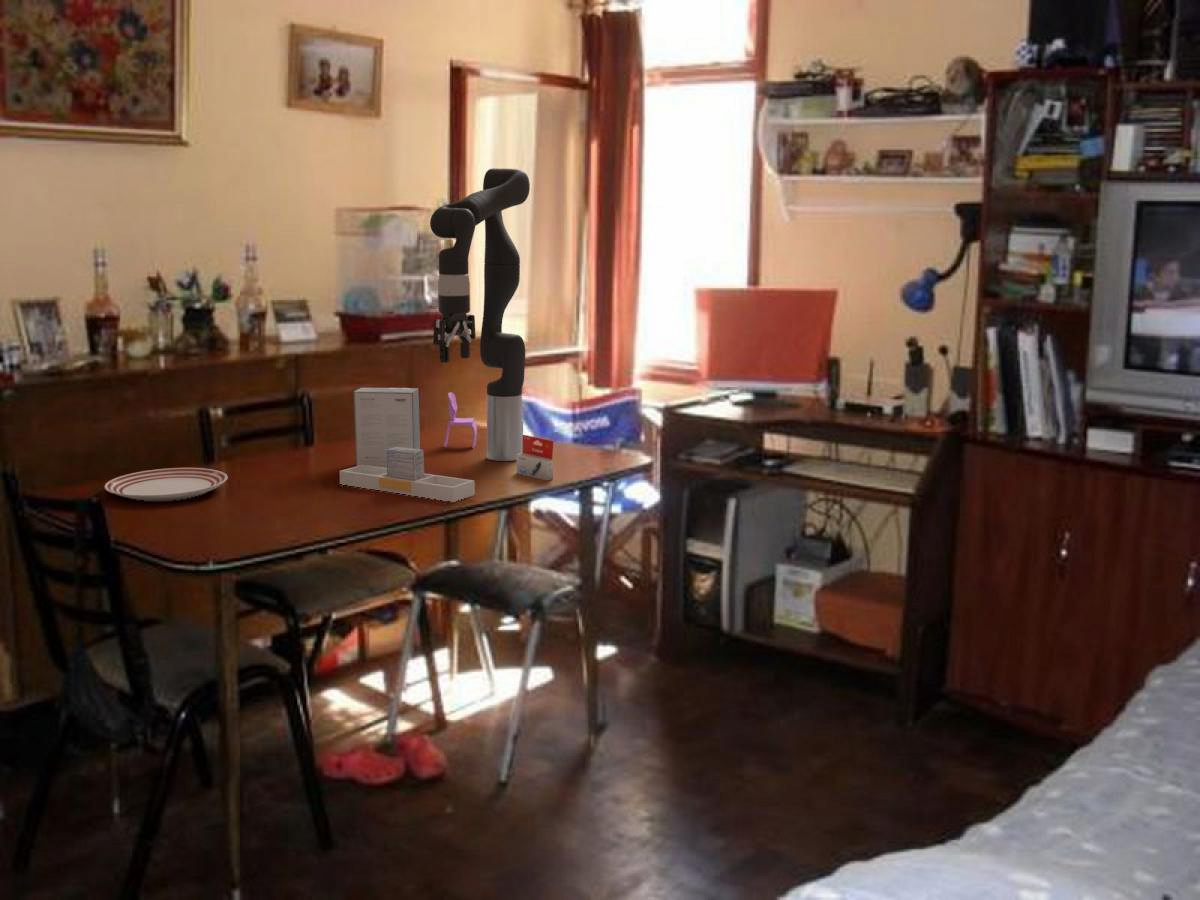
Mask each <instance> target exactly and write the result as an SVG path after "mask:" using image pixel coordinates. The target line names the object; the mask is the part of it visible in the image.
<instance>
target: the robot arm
mask: <svg viewBox="0 0 1200 900" xmlns="http://www.w3.org/2000/svg"><path fill="white" fill-rule="evenodd" d="M529 179H530V178H529V176H528V175H527V172H526V171H524V170H522V169H518V168H497V167H496V168H494V167H493V168H489V169H488V170H486V172H485V174H484V177H483V181H482V182H483V183H482V190H479V191H475V192H472V193H471V194H469V195H467V196H465V197H463V199H461V200H459V201H456V202H453V203H449V204H446V205H442V206H440V207H438V208H437V209H435V211H434V212H433V213H432V214H431V216H430V221H429V227H430V230H431V233H433V235H435V236H436V237H438V238H442V239H456V240H455V243H454V244H453V246H452V247H447V248H443V249H441V250H440V251H439V252H438V281H437V283H438V284H437V291H438V294H437V296H438V297H437V299H438V312H439V313H440V314H441V315H442V317H441V319H436V318H435V319H434V320H433V338H432V340H433V345H436V346H438V347H439V361H440V362H441V363H450V343H451V341H452V340H453V339H454V338H455V337H456V336H457V337H458V339H459V340H460V351H459V352H460V358H461V359H469V358H470V355H471V353H470V352H471V351H470V350H471V349H470V348H471V343H472V340H475V339H476V336H477V335H476V320H475V319H476V318H475V315H474V314H468V313H470V312H471V295H470V294H471V287H470V277H469V254H470V251H471V248H472V247H471V245H472V242H473V238H474V233H475V230H476V226H478V225H479V224H481V223H482V222H484V261H483V262H484V264H483V265H484V266H483V267H484V268H483V275H484V277H483V279H484V280H483V283H484V284H483V285H484V288H483V291H484V292H483V294H484V295H483V313H482V314H483V315H482V323H481V331H480V341H479V352H480V353H479V354H480V358H481V361H482V364H484V366H485V367H488V368H494V369H495V368H496V369H502V372H501V376H500V377H499V378H498V379H496V380H492V381H489V382H488V383H487V385H486V458H487V459H488V460H491V461H495V462H512V461H517V457H516V454H519V453H523V435H524V421H523V417H522V416H523V415H522V414H523V404H522V403H523V400H522V399H523V397H522V395H523V394H522V393H523V386H524V382H525V367H526V344H525V341H524V339H523V337H522V336H521V335H519V334H517V333H506V332H505V333H504V332H502V330H503V329H502V327H503V319H504V315H505V314H504V313H505V311H506V309H507V307H508V305H509V304H510V303H511V302H510V301H511V300H512V298H513V297H514V295H515V293H516V291H517V289H518V287H519V284H520V277H521V274H520V273H521V271H520V269H521V257H520V254H519V252H518V251H519V250H518V249H517V247H516V245H515V244H514V242H513V240H512V238H511V237H510V235H509V232H508V231H507V229H506V227H505V223H504V219H503V212H502V211H504V210H507V209H509V208H513V207H517V206H520V205H522V204H524V203H525V201H527V199H528V197H529V194H530V190H531V189H530V188H531V187H530V186H531V184H530V180H529Z"/></svg>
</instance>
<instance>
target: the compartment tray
mask: <svg viewBox="0 0 1200 900" xmlns="http://www.w3.org/2000/svg"><path fill="white" fill-rule="evenodd" d="M340 484H342V485H341V486H343V485H348V486H347V487H349V486H355V487H354V488H356V487H361V488H360V489H362V488H367V489H366V490H369V489H375V490H381V491H380V492H382V491H388V492H394V493H393V494H395V493H400V494H399V495H401V494H406V495H405V496H408V495H411V496H410V497H414V496H418V497H417V498H421V497H425V498H424V499H427V498H430V499H429V500H434V499H436V500H435V501H440V500H442V501H441V502H447V501H450V502H449V503H453V502H454V503H457V502H459V501H462V500H465V499H468V498H471V497H473V496H476V495H475V493H476V492H475V489H476V487H475V480H472V479H468V478H467V479H466V478H460V477H459V478H458V477H453V476H452V477H451V476H444V475H438V474H431V473H425V472H424V478H422V479H419V480H416V481H411V480H404V479H397V478H391V477H387V468H383V467H376V466H369V465H359V466H356V465H355V466H353V467H349V468H345V469H342V470H341V469H340V470H339V485H340ZM375 490H374V491H375ZM388 492H387V493H388ZM464 498H465V499H464ZM461 499H462V500H461ZM458 500H459V501H458ZM456 501H457V502H456Z"/></svg>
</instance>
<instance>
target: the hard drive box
mask: <svg viewBox="0 0 1200 900" xmlns="http://www.w3.org/2000/svg"><path fill="white" fill-rule="evenodd" d="M419 397H420V396H419V388H418V387H417V388H415V387H414V388H413V387H410V388H409V387H360V388H358V389H356V390H354V391H353V415H354V442H355V444H354V445H355V447H354V448H355V466H359V465H369V466H376V467H383V468H387V458H386V451H387V450H389V449H391V448H394V447H402V448H413V449H421V445H420V444H421V442H420V439H421V438H420V436H421V433H420V402H419V399H420V398H419Z"/></svg>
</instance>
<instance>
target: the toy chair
mask: <svg viewBox="0 0 1200 900" xmlns="http://www.w3.org/2000/svg"><path fill="white" fill-rule="evenodd" d="M447 396H448V399H449V402H448V403H447V406H448V412H449V418H450V419H449V421H448V425H447V427H446V432H445V439H444V442H443V447H445V448H446V446H447V445H448V440H449V433H450V429H451V426H466V427H471V428H472V430H473V442H472V446H471V447H472V448H473V449H474V448H475V446H476V443H477V437H478V436H477V435H478V427H477V423H476V421H475V417H469V418H467V417H466V418H462V417H461V418H459V417H456V413H457V412H458V409H459V408H458V404H457V398H456V395H455V394H454V393H453V392H452V391H451V392H448V393H447ZM446 444H447V445H446ZM443 447H442V448H443ZM472 448H471V449H472Z"/></svg>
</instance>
